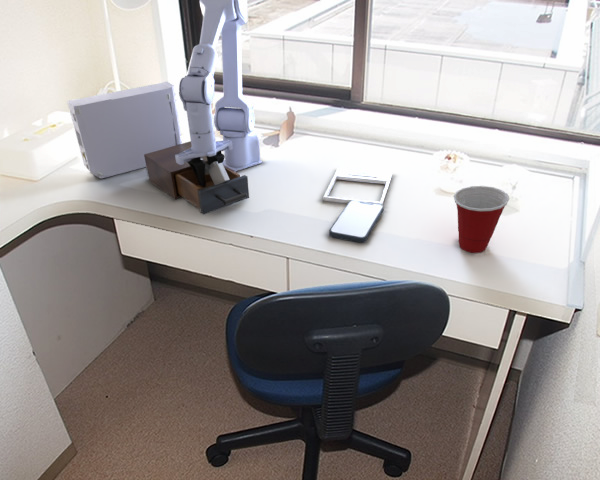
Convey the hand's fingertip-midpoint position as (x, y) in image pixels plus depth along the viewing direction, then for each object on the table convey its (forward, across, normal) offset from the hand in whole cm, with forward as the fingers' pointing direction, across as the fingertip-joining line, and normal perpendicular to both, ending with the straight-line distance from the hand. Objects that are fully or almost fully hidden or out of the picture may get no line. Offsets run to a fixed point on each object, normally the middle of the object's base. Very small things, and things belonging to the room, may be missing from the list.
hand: (208, 183), depth 137 cm
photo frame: (+4, +32, -20) cm, 38 cm away
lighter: (-1, 0, -5) cm, 5 cm away
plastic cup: (+4, +31, -56) cm, 64 cm away
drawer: (+3, 0, -3) cm, 5 cm away
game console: (+4, -5, +31) cm, 31 cm away
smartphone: (+4, +19, -33) cm, 39 cm away
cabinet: (+4, 0, +12) cm, 13 cm away
